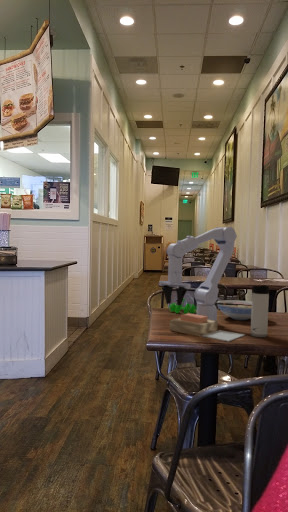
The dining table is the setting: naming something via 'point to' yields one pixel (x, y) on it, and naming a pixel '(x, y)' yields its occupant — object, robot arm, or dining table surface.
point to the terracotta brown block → (194, 318)
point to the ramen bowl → (236, 309)
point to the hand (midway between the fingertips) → (173, 304)
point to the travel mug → (259, 311)
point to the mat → (223, 335)
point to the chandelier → (187, 308)
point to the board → (193, 327)
